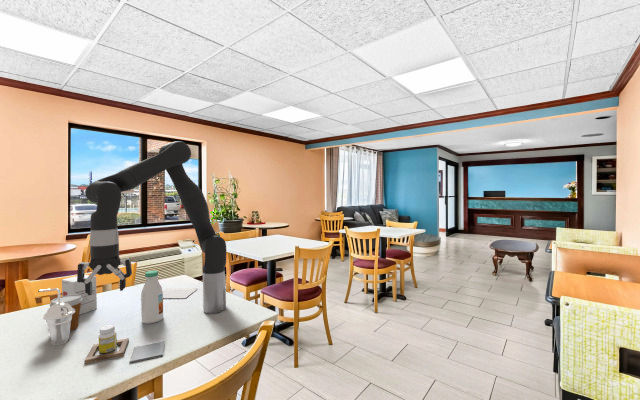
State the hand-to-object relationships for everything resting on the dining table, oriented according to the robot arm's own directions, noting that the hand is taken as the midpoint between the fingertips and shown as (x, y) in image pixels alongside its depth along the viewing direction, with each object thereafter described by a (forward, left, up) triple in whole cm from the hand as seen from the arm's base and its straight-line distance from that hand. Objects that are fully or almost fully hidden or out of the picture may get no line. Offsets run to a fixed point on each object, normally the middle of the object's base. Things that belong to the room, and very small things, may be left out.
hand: (106, 292), depth 95 cm
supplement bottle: (0, 0, -20) cm, 20 cm away
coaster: (-12, +6, -20) cm, 24 cm away
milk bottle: (-11, -21, -20) cm, 31 cm away
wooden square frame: (0, 0, -20) cm, 20 cm away
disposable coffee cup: (+18, -26, -20) cm, 37 cm away
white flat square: (-13, -48, -20) cm, 54 cm away
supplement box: (+19, -45, -20) cm, 53 cm away
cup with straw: (+17, -15, -20) cm, 30 cm away
